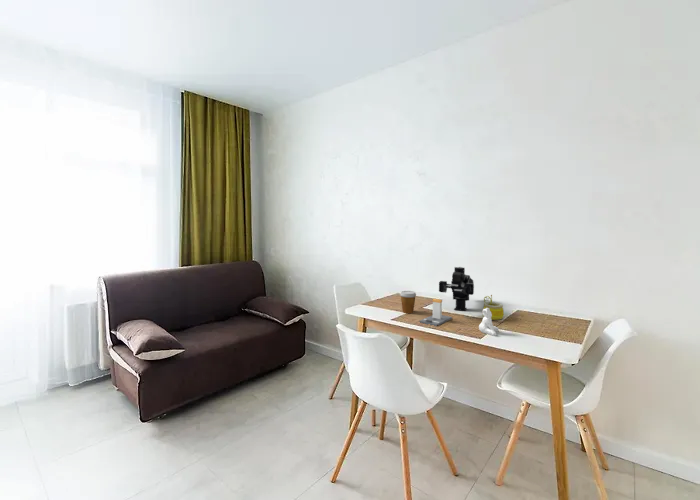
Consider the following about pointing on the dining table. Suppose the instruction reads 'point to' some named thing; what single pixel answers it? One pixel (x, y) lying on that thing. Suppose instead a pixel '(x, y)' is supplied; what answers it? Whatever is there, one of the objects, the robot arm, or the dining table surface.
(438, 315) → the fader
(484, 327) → the seated beast figurine
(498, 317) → the yellow round tub
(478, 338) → the dining table surface
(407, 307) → the disposable coffee cup
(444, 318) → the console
